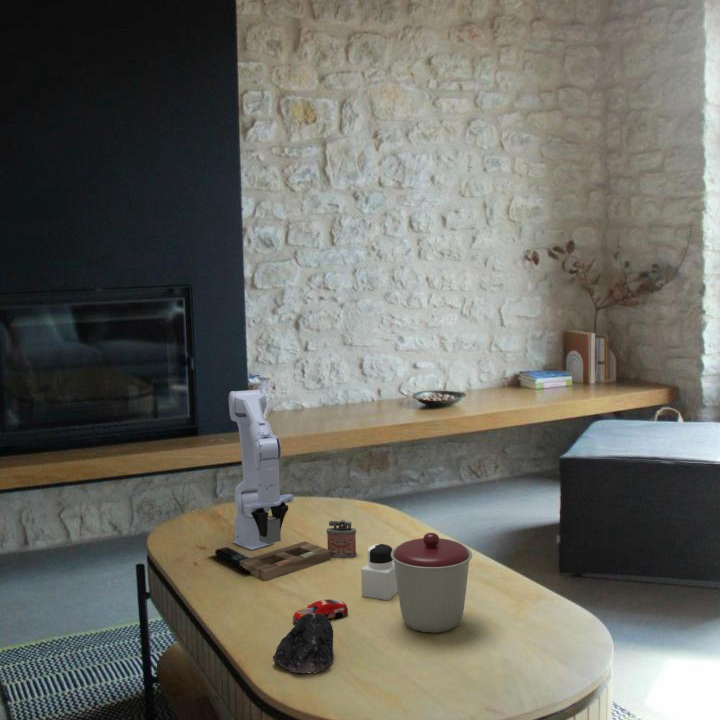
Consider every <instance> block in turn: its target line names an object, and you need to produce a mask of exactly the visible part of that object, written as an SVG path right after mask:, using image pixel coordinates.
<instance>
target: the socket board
mask: <svg viewBox="0 0 720 720" xmlns="http://www.w3.org/2000/svg"><path fill="white" fill-rule="evenodd" d="M331 559H332V558H331V551H330V550H328V548H324V547H322V546H319V545H317V544H314V543H310V542H307V541H301V542H298V543H295V544H292V545H291V544H290V545H289V546H285V547H281V548H278V549H274V550H272V551H268V552H264V553H262V554H259V555H258V554H257V555H254V556H252V557H248V558H245V559H241V560H239V567H240V566H242V567H243V568H245V569H246V570H248V571H250V573H251V575H250V576H252V575H253V577H255V578H257V579H259V580H262V581H264V582H266V581H269V580H271V579H275V578H278V577H281V576H285V575H287V574H292V573H294V572H296V571H297V572H298V571H299V570H303V569H306V568H309V567H313V566H315V565H318V564H321V563H325V562H327V561H330V560H331Z"/></svg>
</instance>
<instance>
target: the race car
mask: <svg viewBox="0 0 720 720" xmlns="http://www.w3.org/2000/svg"><path fill="white" fill-rule="evenodd" d="M308 613H310V614H312V615H313V616H315V615H316V614H318V613H320V614H323V615H324V616H325V617H326V619H327V620H328V621H329V622H330V621H333V620H334V621H335V620H340V619H342V618H344V617H346V616H347V615H348V614H349V609H348V607H347V603H346V602H344V601H342V600H340V599H330V598H329V599H328V598H327V599H322V600H317V601H314V602H312V603H311V604H308V605H307V607H304V608H302V609H299V610H297V611H296V612H294V613H293V616H292V622H293V624H295V625H296V622H297V621H298V620H299V619H300V618H301V617H302V616H303V615H306V614H308Z"/></svg>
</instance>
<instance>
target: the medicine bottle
mask: <svg viewBox="0 0 720 720" xmlns="http://www.w3.org/2000/svg"><path fill="white" fill-rule="evenodd" d="M392 550H393V548H392V546H390V545H389V544H386V543H376V544H373V545H370V546H369V547H368V548H367V564H366V565H365V566H363V567H362V568H361V570H360V571H361V575H360V576H361V596H362V597H365V598H370V599H375V598H376V600H381V599H383V600H384V601H390V600H391V599H392V598H393V597H394V596H395V595H396V594H397V593H398V588H397V580H396V572H395V564H394V560H393V559H392V558H391V552H392ZM392 596H393V597H392Z"/></svg>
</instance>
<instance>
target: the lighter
mask: <svg viewBox="0 0 720 720" xmlns="http://www.w3.org/2000/svg"><path fill="white" fill-rule="evenodd" d="M328 527H329V528H326V534H327V535H326V536H327V538H326V539H327V540H326V541H327V550H330V551H331V559H332V558H333V559H334V558H335V559H352V558H353V559H354V558H356V557H358V556H357V555H358V553H357V550H356V548H357V543H356V541H357V539H356V533H357V529H356V528H354V527H352V521H347V520H345V519H340V520H329V521H328Z"/></svg>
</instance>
